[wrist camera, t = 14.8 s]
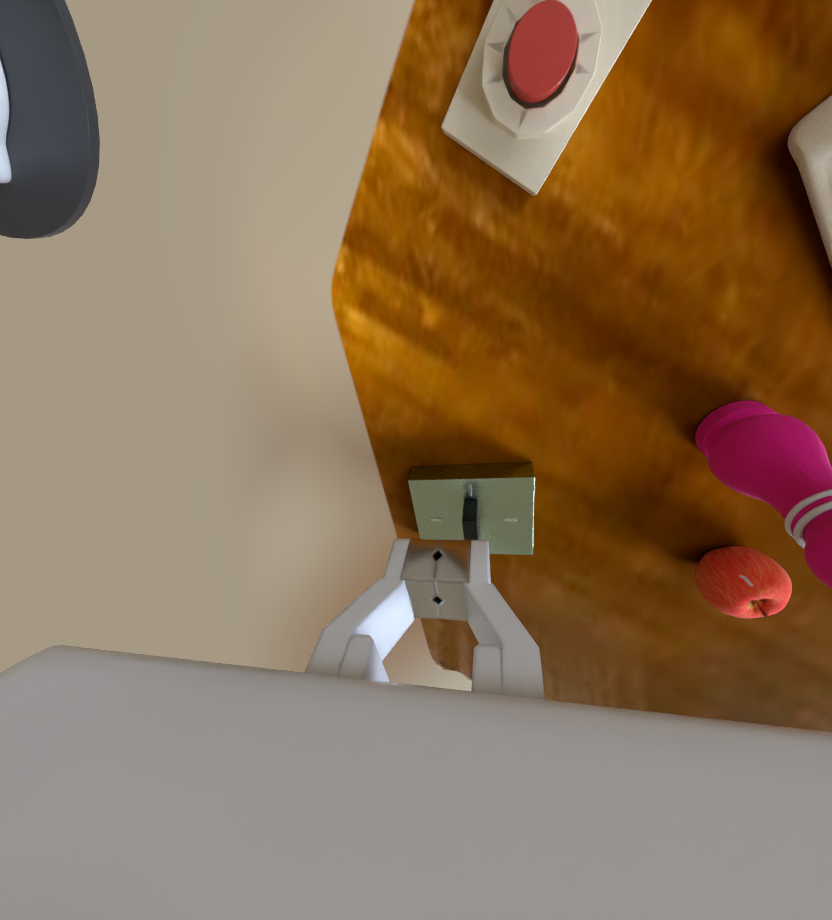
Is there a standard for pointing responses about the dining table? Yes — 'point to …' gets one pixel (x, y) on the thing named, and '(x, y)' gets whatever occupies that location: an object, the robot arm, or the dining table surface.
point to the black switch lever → (471, 520)
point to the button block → (544, 123)
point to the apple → (743, 582)
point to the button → (541, 51)
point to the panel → (499, 503)
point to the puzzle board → (816, 165)
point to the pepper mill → (775, 471)
